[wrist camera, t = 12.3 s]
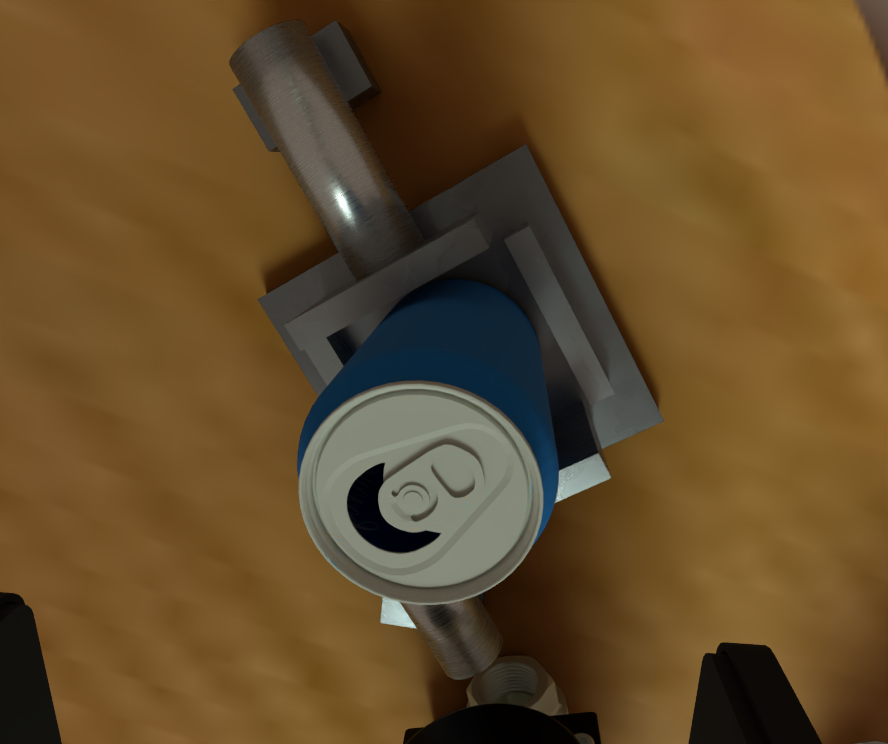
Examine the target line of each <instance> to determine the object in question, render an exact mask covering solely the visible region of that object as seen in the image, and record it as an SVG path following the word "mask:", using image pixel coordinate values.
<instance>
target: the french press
mask: <svg viewBox="0 0 888 744" xmlns="http://www.w3.org/2000/svg"><path fill="white" fill-rule="evenodd" d="M854 744H888V743H885V742H879V741H871V742H863V743H854Z"/></svg>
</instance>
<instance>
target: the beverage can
mask: <svg viewBox="0 0 888 744" xmlns="http://www.w3.org/2000/svg"><path fill="white" fill-rule="evenodd" d="M297 470H298V478H299V500H300V508H301V512H302V515H303V519H304V522H305V525H306V527H307V530H308V532H309V534H310V536H311V538H312V540H313V541H314V543H315V545H316V547H317V548H318V549H319V551H320V552H321V553H322V555H323V556H324V557H325V559H326V560H327V561H328V562H329V563H330V564H331V565H332V566H333V567H334V568H335V569H336V570H337V571H338V572H340V573H341V574H342V575H343V576H344V577H346V578H347V579H348V580H350V581H351V582H353V583H354V584H356V585H358V586H359V587H361V588H363V589H365V590H367V591H369V592H371V593H373V594H375V595H378V596H381V597H384V598H386V599H390V600H394V601H398V602H402V603H409V604H417V605H437V604H447V603H452V602H457V601H462V600H465V599H468V598H471V597H474V596H477V595H479V594H481V593H483V592H485V591H487V590H489V589H491V588H492V587H494V586H495V585H497V584H498V583H500V582H501V581H503V580H504V579H505V578H506V577H507V576H509V575H510V574H511V573H512V572H513V571H514V570H515V569H516V568H517V567H518V566H519V564H520V563H521V562H522V561H523V560H524V558H525V557H526V555H527V554H528V552H529V551H530V549H531V547H532V546H533V545H534V543H535V542H536V541H537V539H538V538H539V536H540V535H541V533H542V532H543V530H544V529H545V527H546V524H547V522H548V520H549V518H550V516H551V514H552V511H553V507H554V504H555V501H556V497H557V491H558V484H559V464H558V456H557V449H556V443H555V437H554V431H553V425H552V419H551V413H550V407H549V400H548V394H547V388H546V382H545V376H544V370H543V364H542V358H541V351H540V345H539V342H538V338H537V335H536V332H535V330H534V328H533V326H532V324H531V322H530V320H529V319H528V317H527V315H526V314H525V313H524V312H523V310H522V309H521V308H520V307H519V306H518V305H517V304H516V303H515V302H514V301H513V300H512V299H511V298H509V297H508V296H506V295H505V294H504V293H502V292H501V291H499V290H497V289H495V288H493V287H491V286H488V285H486V284H483V283H480V282H475V281H471V280H462V279H449V280H442V281H436V282H433V283H430V284H426V285H424V286H422V287H420V288H417V289H415V290H414V291H412V292H411V293H409V294H407V295H406V296H405V297H404V298H402V299H401V300H400V301H399V302H398V303H397V304H396V305H395V306H394V307H393V308H392V309H391V311H390V312H389V313H388V314H387V315H386V317H385V318H384V319H383V320H382V321H381V323H380V324H379V325H378V326H377V327H376V329H375V330H374V331H373V332H372V333H371V334H370V336H369V337H368V338H367V339H366V340H365V342H364V343H363V344H362V345H361V346H360V348H359V349H358V350H357V351H356V352H355V354H354V355H353V356H352V357H351V358H350V360H349V361H348V362H347V363H346V364H345V365H344V367H343V368H342V369H341V370H340V371H339V373H338V374H337V375H336V376H335V377H334V379H333V380H332V381H331V382H330V383H329V385H328V386H327V387H326V388H325V389H324V391H323V392H322V393H321V394H320V396H319V397H318V399H317V400H316V402H315V403H314V405H313V406H312V408H311V410H310V412H309V414H308V416H307V418H306V420H305V423H304V426H303V429H302V433H301V436H300V442H299V448H298V460H297Z"/></svg>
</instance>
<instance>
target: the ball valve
mask: <svg viewBox="0 0 888 744" xmlns="http://www.w3.org/2000/svg"><path fill="white" fill-rule="evenodd" d="M466 692H467V696H468V700H469V701H468V703H467V706H466V708H463V709H460V710H457V711H454V712H452V713H449V714H447V715H445V716H443V717H441V718H439V719H437V720H435V721H433V722H432V723H430V724H428V725H427V726H425V727H422V728H411V729H408V730H406V732H405V736H404V742H403V744H602V742H601V737H600V731H599V725H598V720H597V715H596V713H594V712H585V713H574V714H568V708H567V703H566V699H565V696H564V694H563V692H562V690H561V689H560V688H559V687H558V686H557V684H555V682H554V680H553V679H552V678H551V676H550V675H549V674H548V672H547V671H546V670H545V669H544V668H543V667H542V666H541V665H540V664H539V663H538V662H537V661H536V660H535V659H534V658H532V657H531V656H505V657H500V658H496V659H495V660H494V661H493V662H492V664H491V665H490V666H488V667H487V668H486V669H485V670H484V671H482V672H481V673H479V674H477V675H475V676H474V678H473V679H472V681H471V682H470V684H469V686H468V688H467V690H466Z"/></svg>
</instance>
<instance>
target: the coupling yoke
mask: <svg viewBox="0 0 888 744" xmlns="http://www.w3.org/2000/svg"><path fill="white" fill-rule="evenodd" d="M229 65H230V67H231V69H232V71H233V72H234V74H235V76H236V77H237V79H238V81H239V83H240V84H239V85H238V86H237V87H235V88H234V89H233V91H234V93H235V94H236V96H237V98H238V99H239V101H240V103H241V105H242V106H243V108H244V110H245V111H246V113H247V115H248V116H249V118H250V120H251V121H252V123H253V125H254V127H255V128H256V130H257V132H258V133H259V135H260V137H261V138H262V140H263V142H264V143H265V145H266V147H267V149H268V150H269V151H271V152H281V154H282V156H283V158H284V159H285V161H286V163H287V164H288V166H289V168H290V169H291V171H292V173H293V175H294V176H295V178H296V180H297V181H298V183H299V185H300V187H301V188H302V190H303V192H304V193H305V195H306V197H307V198H308V200H309V202H310V204H311V205H312V207H313V209H314V210H315V212H316V214H317V215H318V217H319V219H320V221H321V222H322V224H323V226H324V227H325V229H326V231H327V233H328V234H329V236H330V238H331V239H332V241H333V243H334V244H335V246H336V248H337V250H338V251H339V253H337V254H335V255H333V256H332V257H330V258H328V259H326V260H325V261H323V262H321V263H320V264H318V265H316V266H314V267H313V268H311V269H309V270H307V271H306V272H304V273H302V274H301V275H299V276H297V277H295V278H294V279H292V280H290V281H288V282H287V283H285V284H283V285H282V286H280V287H278V288H276V289H275V290H273V291H271V292H269V293H268V294H266V295H264V296H263V297H261V298H259V299H258V301H259V302H260V304H261V306H262V307H263V309H264V310H265V312H266V314H267V315H268V317H269V318H270V320H271V322H272V323H273V325H274V326H275V328H276V330H277V331H278V333H279V334H280V336H281V338H282V339H283V341H284V342H285V344H286V345H287V347H288V349H289V350H290V352H291V353H292V355H293V357H294V358H295V360H296V361H297V363H298V365H299V366H300V368H301V369H302V371H303V373H304V374H305V376H306V377H307V379H308V381H309V382H310V384H311V385H312V387H313V388H314V390H315V392H316V393H317V395H318V396H320V394H321V393H322V392H323V391H324V389H325V388H326V387H327V386H328V385H329V383H330V382H331V381H332V380H333V379H334V377H335V376H336V375H337V374H338V373H339V371H340V370H341V369H342V368H343V367H344V365H345V364H346V363H347V362H348V361H349V360H350V358H351V357H352V356H353V355H354V354H355V352H356V351H357V350H358V349H359V348H360V346H361V345H362V344H363V343H364V342H365V340H366V339H367V338H368V337H369V336H370V334H371V333H372V332H373V331H374V330H375V329H376V327H377V326H378V325H379V324H380V323H381V321H382V320H383V319H384V318H385V317H386V315H387V314H388V313H389V312H390V311H391V309H392V308H393V307H394V306H395V305H396V304H397V303H398V302H399V301H400V300H401V299H402V298H404V297H405V296H406V295H407V294H409V293H411V292H412V291H414V290H415V289H417V288H420V287H422V286H424V285H426V284H430V283H433V282H436V281H442V280H449V279H462V280H471V281H475V282H480V283H483V284H486V285H488V286H491V287H493V288H495V289H497V290H499V291H501V292H502V293H504V294H505V295H506V296H508V297H509V298H511V299H512V300H513V301H514V302H515V303H516V304H517V305H518V306H519V307H520V308H521V309H522V310H523V312H524V313H525V314H526V315H527V317H528V319H529V320H530V322H531V324H532V326H533V328H534V330H535V332H536V335H537V338H538V342H539V345H540V351H541V358H542V364H543V370H544V376H545V382H546V388H547V394H548V400H549V407H550V413H551V419H552V425H553V431H554V437H555V443H556V449H557V456H558V464H559V484H558V491H557V497H556V501H555V503H556V502H558V501H560V500H563V499H565V498H567V497H569V496H572V495H574V494H576V493H579V492H581V491H583V490H585V489H588V488H590V487H592V486H594V485H597V484H599V483H601V482H604V481H606V480H608V479H610V478H611V475H610V472H609V469H608V466H607V463H606V460H605V456H604V453H603V450H602V449H603V448H605V447H607V446H610V445H612V444H614V443H616V442H619V441H621V440H623V439H625V438H627V437H630V436H632V435H634V434H636V433H639V432H641V431H643V430H645V429H647V428H650V427H652V426H654V425H656V424H658V423H661V422H663V421H664V420H663V418H662V416H661V414H660V412H659V410H658V408H657V406H656V404H655V402H654V400H653V398H652V396H651V394H650V392H649V390H648V388H647V386H646V384H645V382H644V380H643V378H642V376H641V374H640V372H639V370H638V368H637V365H636V363H635V361H634V359H633V357H632V355H631V353H630V351H629V349H628V347H627V345H626V343H625V341H624V339H623V337H622V335H621V333H620V331H619V329H618V327H617V325H616V323H615V321H614V319H613V317H612V315H611V313H610V311H609V309H608V307H607V305H606V303H605V301H604V299H603V297H602V295H601V293H600V291H599V289H598V287H597V285H596V283H595V281H594V279H593V277H592V275H591V273H590V271H589V269H588V267H587V265H586V263H585V261H584V259H583V257H582V255H581V253H580V251H579V249H578V247H577V245H576V243H575V241H574V239H573V237H572V235H571V233H570V231H569V229H568V227H567V225H566V223H565V221H564V219H563V217H562V215H561V213H560V211H559V209H558V207H557V205H556V203H555V201H554V199H553V197H552V195H551V193H550V191H549V189H548V187H547V185H546V183H545V181H544V179H543V177H542V175H541V173H540V171H539V169H538V167H537V165H536V163H535V161H534V159H533V157H532V155H531V153H530V151H529V149H528V147H527V145H526V144H525V145H523V146H522V147H520V148H518V149H517V150H515V151H513V152H511V153H510V154H508V155H506V156H504V157H503V158H501V159H499V160H498V161H496V162H494V163H492V164H491V165H489V166H487V167H485V168H484V169H482V170H480V171H479V172H477V173H475V174H473V175H472V176H470V177H468V178H466V179H465V180H463V181H461V182H460V183H458V184H456V185H454V186H453V187H451V188H449V189H447V190H446V191H444V192H442V193H441V194H439V195H437V196H435V197H434V198H432V199H430V200H428V201H427V202H425V203H423V204H422V205H420V206H418V207H416V208H415V209H413V210H411V211H409V212H408V210H407V208H406V206H405V205H404V203H403V201H402V199H401V197H400V195H399V194H398V192H397V190H396V188H395V186H394V185H393V183H392V181H391V179H390V177H389V176H388V174H387V172H386V170H385V168H384V167H383V165H382V163H381V161H380V159H379V158H378V156H377V154H376V152H375V150H374V148H373V147H372V145H371V143H370V141H369V139H368V138H367V136H366V134H365V132H364V130H363V129H362V127H361V125H360V123H359V121H358V120H357V118H356V116H355V114H354V112H353V111H352V110H353V109H355V108H356V107H358V106H359V105H361V104H362V103H364V102H366V101H367V100H369V99H370V98H372V97H374V96H375V95H377V94H378V93H380V92H381V90H380V88H379V86H378V85H377V83H376V81H375V79H374V77H373V75H372V74H371V72H370V70H369V68H368V66H367V64H366V62H365V61H364V59H363V57H362V55H361V53H360V51H359V49H358V48H357V46H356V44H355V42H354V40H353V38H352V36H351V35H350V33H349V31H348V30H347V29H346V28H345V27H344V26H343V25H341V24H340V23H339V22H338V21H337V20H334V21H333V22H331V23H330V24H329V25H327V26H326V27H324V28H323V29H321V30H320V31H318V32H317V33H315V34H314V35H312V36H311V35H310V33H309V31H308V29H307V27H306V26H305V24H304V22H303V21H301V20H289V21H285V22H281V23H278V24H276V25H273V26H271V27H269V28H267V29H265V30H263V31H261V32H259V33H258V34H256V35H254V36H253V37H251V38H250V39H249V40H247V41H246V42H245V43H244V44H242V45H241V46H240V47H239V48H238V49H237V50H236V51H235V52H234V54H233V55H232V57H231V59H230V61H229ZM484 593H485V592H483V593H481V594H479V595H477V596H474V597H471V598H468V599H465V600H462V601H457V602H452V603H447V604H437V605H417V604H409V603H402V602H398V601H394V600H390V599H386V598H384V597H383V600H382V612H381V623H384V624H391V625H398V626H405V627H411V628H417V630H418V631H419V633H420V634H421V636H422V638H423V639H424V641H425V642H426V644H427V645H428V647H429V648H430V650H431V651H432V653H433V655H434V656H435V658H436V659H437V661H438V662H439V664H440V665H441V667H442V668H443V670H444V672H445V673H446V675H447V676H448V677H450V678H452V679H455V680H463V679H468V678H471V677H473V676H475V675H477V674H479V673H481V672H482V671H484V670H485V669H486V668H487V667H488V666H490V665H491V664H492V662H493V661H494V660H495V659H496V657H497V656H498V654H499V652H500V650H501V648H502V642H503V640H502V636H501V634H500V632H499V630H498V629H497V627H496V625H495V624H494V622H493V621H492V619H491V617H490V616H489V614H488V612H487V611H486V609H485V608H484V606H483V600H484Z"/></svg>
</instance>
